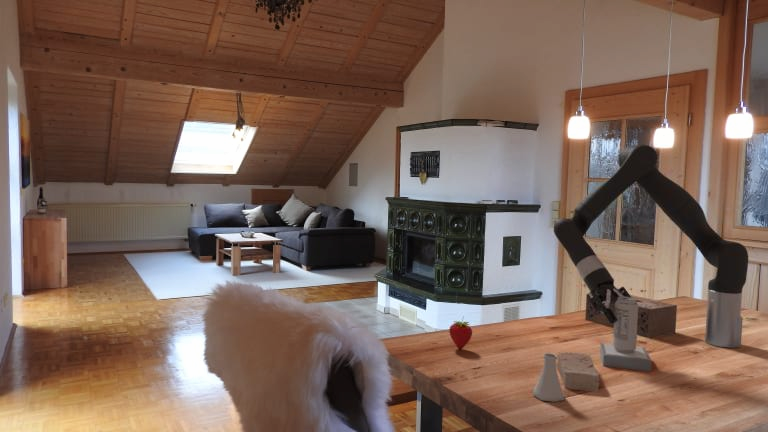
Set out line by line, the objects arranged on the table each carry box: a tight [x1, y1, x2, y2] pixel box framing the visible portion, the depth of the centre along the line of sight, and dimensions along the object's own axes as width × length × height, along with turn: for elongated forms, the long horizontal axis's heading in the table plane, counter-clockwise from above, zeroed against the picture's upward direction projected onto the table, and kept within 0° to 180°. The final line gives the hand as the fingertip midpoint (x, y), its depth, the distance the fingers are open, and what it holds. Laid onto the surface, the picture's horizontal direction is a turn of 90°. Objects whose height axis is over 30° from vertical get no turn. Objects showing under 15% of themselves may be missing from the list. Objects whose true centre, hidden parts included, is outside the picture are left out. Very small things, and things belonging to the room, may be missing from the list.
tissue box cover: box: [584, 293, 678, 339], centre depth 192 cm, size 26×14×10 cm, turn 30°
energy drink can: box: [612, 297, 638, 353], centre depth 152 cm, size 6×6×15 cm
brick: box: [557, 352, 600, 392], centre depth 139 cm, size 16×8×5 cm, turn 168°
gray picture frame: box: [599, 342, 652, 372], centre depth 153 cm, size 12×12×3 cm
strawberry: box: [448, 315, 473, 350], centre depth 161 cm, size 6×8×10 cm
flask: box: [533, 352, 565, 403], centre depth 126 cm, size 7×7×10 cm
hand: (625, 320), depth 152 cm, fingers open, 8 cm apart
